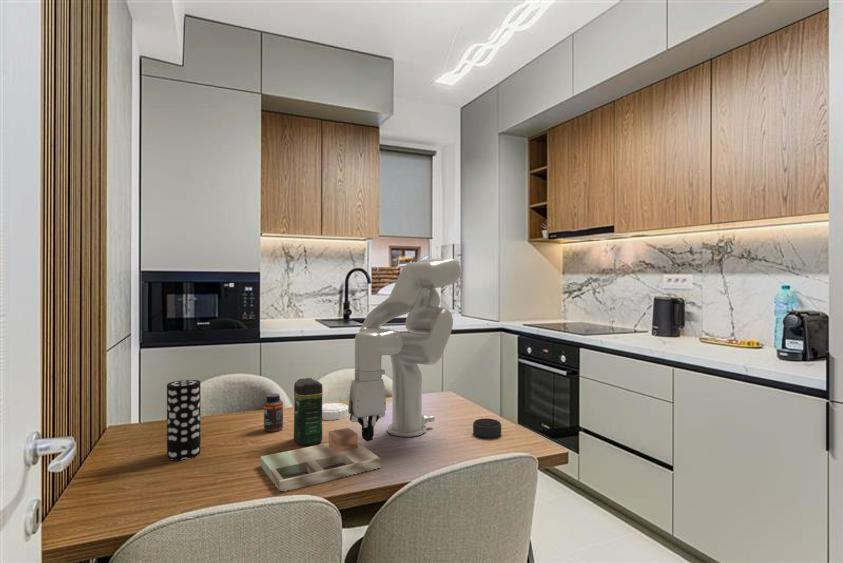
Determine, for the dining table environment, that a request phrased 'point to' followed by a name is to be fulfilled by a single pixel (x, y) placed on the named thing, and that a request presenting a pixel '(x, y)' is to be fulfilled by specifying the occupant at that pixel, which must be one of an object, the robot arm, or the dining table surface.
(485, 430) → the smart speaker
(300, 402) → the coffee jar
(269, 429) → the supplement bottle
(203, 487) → the dining table surface
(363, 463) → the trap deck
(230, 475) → the dining table surface
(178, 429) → the white-spotted black cylinder
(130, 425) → the dining table surface
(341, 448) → the block
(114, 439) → the dining table surface
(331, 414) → the mooncake
